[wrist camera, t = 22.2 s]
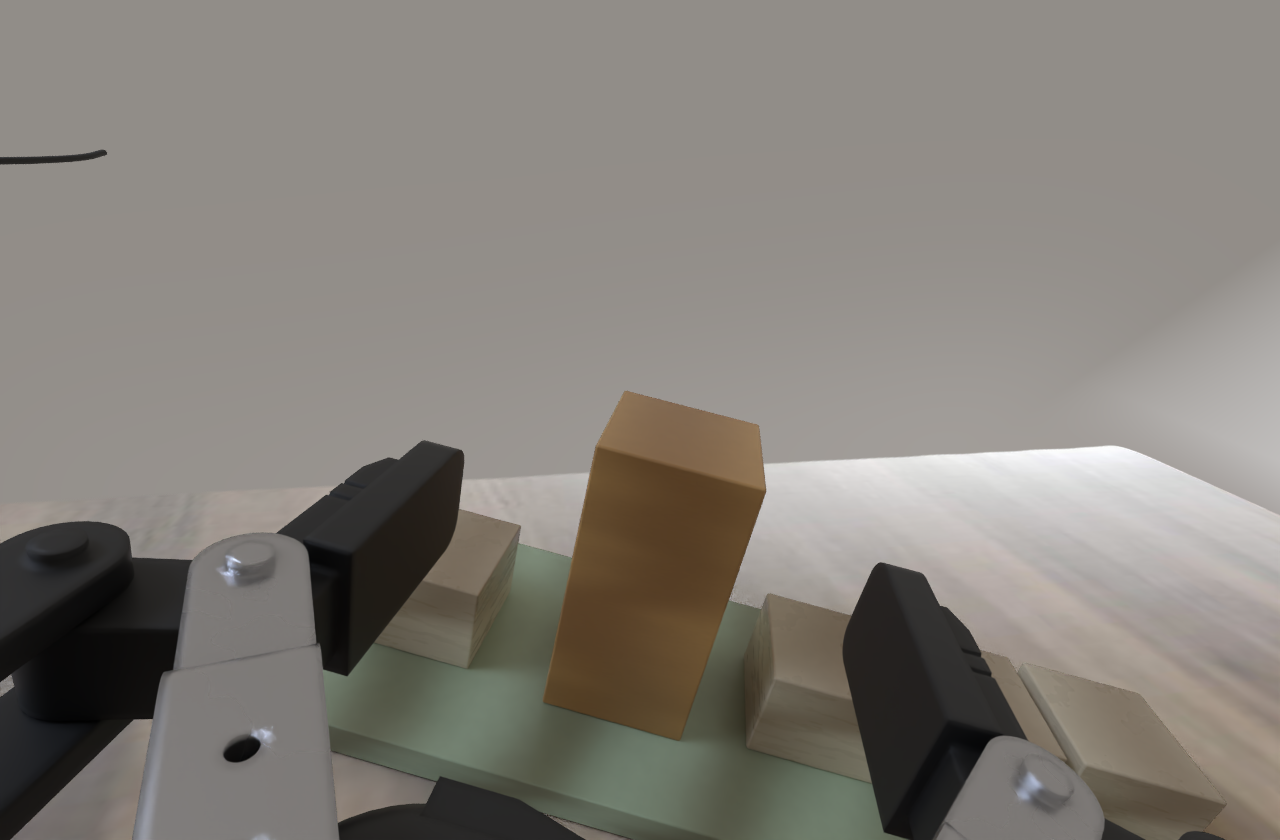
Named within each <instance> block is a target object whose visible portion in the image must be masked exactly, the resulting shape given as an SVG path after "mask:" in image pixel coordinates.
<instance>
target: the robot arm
mask: <svg viewBox="0 0 1280 840" xmlns="http://www.w3.org/2000/svg"><path fill="white" fill-rule="evenodd" d="M105 155H107V152H106V151H105V150H99V151H95V152H91V153H86V154H78V155H66V156H44V157H43V156H42V157H0V164H38V163H59V162H73V161H82V160H89V159H94V158H98V157H101V156H105ZM463 468H464V454H463V451H462V450H459V449H455V448H451V447H448V446H444V445H440V444H436V443H433V442H429V441H421V442H420V443H419V444H417V445H416V446H415V447H414V448H413V449H411V450H410V451H409V452H408V453H406V454H405V455H404V456H403V457H402V458H401V459H399V460H397V459H393V458H386V459H383V460H381V461H378V462H375V463H372V464H369V465H366V466H364V467H362V468H361V469H359V470H358V471H357V472H355V473H354V474H353V475H351V476H350V477H349V478H348V479H346V480H345V483H344V484H343V483H341V484H340V485H338V486H337V487H336V488H334V489H333V490H332V491H331V492H330V494H329V496H328V495H325V496H324V497H323V498H321V499H320V500H319V501H318V502H316V503H315V504H314V505H312V506H311V507H310V508H308V509H307V510H306V511H304V512H303V513H302V514H301V515H299V516H298V517H297V518H295V519H294V520H293V521H291V522H290V523H289V524H288V525H286V526H285V527H284V528H282V529H281V530H280V531H278V532H277V533H276V534H275V533H250V534H243V535H238V536H234V537H230V538H227V539H224V540H221V541H219V542H217V543H214V544H212V545H211V546H209V547H207V548H206V549H204V550H203V551H201V552H200V553H199V554H198V555H197V556H196V557H195V558H194V559H193V560H176V559H153V558H132V554H131V546H130V539H129V536H128V535H127V533H126V532H125V531H124V530H122V529H121V528H119V527H117V526H114V525H111V524H107V523H101V522H89V521H83V522H67V523H60V524H53V525H49V526H44V527H40V528H37V529H34V530H30V531H27V532H25V533H22V534H19V535H17V536H15V537H13V538H10V539H8V540H6V541H4V542H2V543H1V544H0V682H1V681H2V680H4V679H5V678H6V677H8V676H9V675H12V679H13V683H14V687H13V688H12V689H11V690H9V691H8V692H7V693H5V694H4V695H3V696H1V697H0V840H10V839H11V838H12V837H13V836H14V835H15V834H17V833H18V832H19V831H20V830H21V829H22V828H23V827H24V826H25V825H26V824H27V823H28V822H29V821H30V820H31V819H32V818H33V817H34V816H35V815H36V814H37V813H38V812H39V811H40V810H41V809H42V808H43V807H44V806H45V805H46V804H47V803H48V802H49V801H50V800H51V799H52V798H53V797H55V796H56V795H57V794H58V793H59V792H60V791H61V790H62V789H63V788H64V787H65V786H66V785H67V784H68V783H69V782H70V781H71V780H72V779H73V778H74V777H75V776H76V775H77V774H78V773H79V772H80V771H81V770H82V769H83V768H84V767H85V766H86V765H87V764H88V763H89V762H90V761H91V760H92V759H94V758H95V757H96V756H97V755H98V754H99V753H100V752H101V751H102V750H103V749H104V748H105V747H106V746H107V745H108V744H109V743H110V742H111V741H112V740H113V739H114V738H115V737H116V736H117V735H118V734H119V733H120V732H121V731H122V730H123V729H124V728H125V727H126V726H127V725H128V724H129V723H130V722H132V721H133V720H134V719H153V722H152V728H151V734H150V739H149V745H148V751H147V757H146V762H145V768H144V774H143V779H142V785H141V791H140V797H139V802H138V808H137V814H136V820H135V825H134V831H133V837H132V840H585V839H583V838H582V837H580V836H578V835H577V834H575V833H574V832H572V831H570V830H569V829H567V828H565V827H564V826H562V825H560V824H559V823H557V822H556V821H554V820H552V819H551V818H549V817H547V816H546V815H544V814H542V813H541V812H539V811H538V810H536V809H534V808H533V807H531V806H529V805H528V804H526V803H524V802H523V801H521V800H520V799H517V798H513V797H510V796H506V795H503V794H500V793H496V792H493V791H489V790H486V789H483V788H479V787H476V786H472V785H469V784H465V783H462V782H459V781H455V780H452V779H448V778H445V777H442V776H440V777H439V779H438V781H437V783H436V785H435V787H434V789H433V791H432V793H431V795H430V797H429V799H428V801H427V803H426V804H406V805H397V806H390V807H385V808H381V809H376V810H372V811H368V812H365V813H362V814H360V815H357V816H354V817H351V818H348V819H345V820H343V821H341V822H339V823H338V821H337V811H336V801H335V790H334V780H333V770H332V759H331V749H330V739H329V728H328V718H327V708H326V697H325V687H324V677H323V670H326V671H330V672H333V673H337V674H340V675H344V676H347V677H348V675H349V674H350V673H351V671H352V670H353V669H354V668H355V666H356V665H357V664H358V662H359V661H360V660H361V659H362V657H363V656H364V655H365V653H366V652H367V651H368V650H369V648H370V647H371V646H372V644H373V643H374V642H375V641H376V639H377V638H378V637H379V635H380V634H381V633H382V632H383V630H384V629H385V628H386V626H387V625H388V624H389V623H390V621H391V620H392V619H393V617H394V616H395V615H396V614H397V612H398V611H399V610H400V609H401V607H402V606H403V605H404V603H405V602H406V601H407V600H408V598H409V597H410V596H411V594H412V593H413V592H414V591H415V589H416V588H417V587H418V585H419V584H420V583H421V582H422V580H423V579H424V578H425V576H426V575H427V574H428V573H429V571H430V570H431V569H432V567H433V566H434V565H435V564H436V562H437V561H438V560H439V558H440V557H441V556H442V555H443V553H444V552H445V551H446V549H447V547H448V546H449V544H450V542H451V540H452V537H453V534H454V532H455V528H456V524H457V519H458V511H459V502H460V494H461V485H462V477H463ZM981 654H982V653H981V651H980V650H979V648H978V646H977V644H976V642H975V640H974V638H973V636H972V635H971V633H970V631H969V630H968V629H967V628H966V627H965V626H964V625H963V623H962V622H961V621H960V620H959V619H958V618H957V617H956V616H955V615H954V614H953V613H952V612H951V611H950V610H949V609H948V608H947V607H943V606H940V605H939V603H938V601H937V599H936V597H935V595H934V593H933V591H932V589H931V587H930V585H929V583H928V581H927V579H926V577H925V576H924V575H923V574H922V573H920V572H916V571H912V570H908V569H905V568H901V567H897V566H893V565H890V564H886V563H878V564H877V565H876V566H875V567H874V568H873V570H872V572H871V574H870V576H869V578H868V580H867V583H866V585H865V587H864V589H863V592H862V594H861V596H860V598H859V600H858V603H857V605H856V607H855V609H854V612H853V614H852V616H851V618H850V620H849V623H848V625H847V628H846V631H845V634H844V639H843V648H842V656H843V663H844V667H845V671H846V676H847V680H848V684H849V688H850V692H851V697H852V701H853V705H854V709H855V714H856V718H857V722H858V726H859V731H860V735H861V739H862V743H863V747H864V752H865V756H866V760H867V764H868V769H869V773H870V777H871V781H872V786H873V790H874V794H875V798H876V802H877V807H878V811H879V815H880V819H881V824H882V828H883V832H884V833H887V834H891V835H894V836H898V837H901V838H905V839H908V840H1145V839H1143V838H1142V837H1140V836H1138V835H1136V834H1134V833H1132V832H1130V831H1128V830H1126V829H1124V828H1122V827H1121V826H1119V825H1117V824H1115V823H1113V822H1111V821H1109V820H1107V819H1106V818H1104V814H1103V811H1102V808H1101V806H1100V804H1099V802H1098V800H1097V798H1096V797H1095V795H1094V794H1093V792H1092V791H1091V789H1090V788H1089V787H1088V786H1087V784H1086V783H1085V782H1084V781H1083V780H1082V779H1081V778H1080V777H1079V776H1078V775H1077V774H1076V773H1075V772H1074V771H1073V770H1072V769H1071V768H1070V767H1069V766H1068V765H1067V764H1065V763H1064V762H1063V761H1062V760H1060V759H1059V758H1057V757H1056V756H1055V755H1053V754H1052V753H1050V752H1049V751H1047V750H1045V749H1044V748H1042V747H1040V746H1038V745H1036V744H1034V743H1032V742H1029V741H1028V739H1027V737H1026V735H1025V734H1024V732H1023V730H1022V728H1021V726H1020V724H1019V722H1018V720H1017V719H1016V717H1015V715H1014V713H1013V711H1012V709H1011V707H1010V706H1009V704H1008V702H1007V700H1006V698H1005V696H1004V694H1003V692H1002V691H1001V689H1000V687H999V685H998V683H997V681H996V679H995V678H993V677H991V675H992V672H991V670H990V668H989V666H988V664H987V663H986V661H985V659H984V658H981ZM1178 840H1225V839H1223V838H1220V837H1218V836H1215V835H1213V834H1209V833H1205V832H1200V831H1190V832H1186V833H1185V834H1183V835H1182V836H1181V837H1180V838H1179V839H1178Z"/></svg>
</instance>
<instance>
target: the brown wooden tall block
mask: <svg viewBox="0 0 1280 840" xmlns="http://www.w3.org/2000/svg"><path fill="white" fill-rule="evenodd" d="M765 494H766V484H765V475H764V466H763V457H762V448H761V439H760V431H759V426H758V425H757V424H752V423H749V422H745V421H741V420H737V419H733V418H729V417H726V416H721V415H717V414H714V413H710V412H706V411H702V410H699V409H694V408H691V407H687V406H683V405H679V404H675V403H671V402H667V401H663V400H660V399H656V398H652V397H648V396H644V395H640V394H636V393H632V392H629V391H625V392H624V393H623V395H622V397H621V399H620V401H619V402H618V405H617V406H616V408H615V410H614V412H613V414H612V416H611V418H610V420H609V422H608V424H607V426H606V427H605V429H604V431H603V433H602V435H601V437H600V439H599V441H598V443H597V445H596V447H595V452H594V457H593V462H592V466H591V471H590V476H589V481H588V485H587V490H586V495H585V499H584V504H583V509H582V514H581V518H580V523H579V528H578V533H577V537H576V542H575V547H574V552H573V556H572V561H571V566H570V571H569V575H568V580H567V585H566V590H565V594H564V599H563V604H562V609H561V613H560V618H559V623H558V628H557V632H556V637H555V642H554V647H553V651H552V656H551V661H550V666H549V670H548V675H547V680H546V685H545V689H544V694H543V702H544V703H547V704H551V705H554V706H558V707H561V708H565V709H568V710H572V711H575V712H579V713H582V714H586V715H589V716H593V717H596V718H600V719H603V720H607V721H610V722H614V723H617V724H621V725H624V726H628V727H631V728H635V729H638V730H642V731H645V732H649V733H652V734H656V735H659V736H663V737H666V738H670V739H673V740H677V741H679V740H680V739H681V737H682V734H683V731H684V728H685V725H686V722H687V720H688V717H689V714H690V711H691V708H692V705H693V702H694V699H695V696H696V693H697V691H698V688H699V685H700V682H701V679H702V676H703V673H704V670H705V667H706V665H707V662H708V659H709V656H710V653H711V650H712V647H713V644H714V641H715V638H716V636H717V633H718V630H719V627H720V624H721V621H722V618H723V615H724V612H725V610H726V607H727V604H728V601H729V598H730V595H731V592H732V589H733V586H734V583H735V581H736V578H737V575H738V572H739V569H740V566H741V563H742V560H743V557H744V554H745V552H746V549H747V546H748V543H749V540H750V537H751V534H752V531H753V528H754V526H755V523H756V520H757V517H758V514H759V511H760V508H761V505H762V502H763V499H764V497H765Z"/></svg>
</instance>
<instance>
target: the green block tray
mask: <svg viewBox="0 0 1280 840" xmlns="http://www.w3.org/2000/svg"><path fill="white" fill-rule="evenodd" d="M520 530H521V526H520V525H516V524H512V523H509V522H505V521H501V520H498V519H494V518H490V517H487V516H483V515H479V514H476V513H472V512H468V511H464V510H461V509H459V511H458V519H457V524H456V528H455V532H454V534H453V537H452V540H451V542H450V544H449V546H448V547H447V549H446V551H445V552H444V553H443V555H442V556H441V557H440V558H439V560H438V561H437V562H436V564H435V565H434V566H433V567H432V569H431V570H430V571H429V573H428V574H427V575H426V576H425V578H424V579H423V580H422V582H421V583H420V584H419V585H418V587H417V588H416V589H415V591H414V592H413V593H412V594H411V596H410V597H409V598H408V600H407V601H406V602H405V603H404V605H403V606H402V607H401V609H400V610H399V611H398V612H397V614H396V615H395V616H394V617H393V619H392V620H391V621H390V623H389V624H388V625H387V626H386V628H385V629H384V630H383V632H382V633H381V634H380V635H379V637H378V638H377V639H376V641H375V642H374V643H373V644H372V646H371V647H370V648H369V650H368V651H367V652H366V653H365V655H364V656H363V657H362V659H361V660H360V661H359V662H358V664H357V665H356V666H355V668H354V669H353V670H352V671H351V673H350V674H349V675H348V677H347V676H344V675H340V674H337V673H333V672H330V671H326V670H323V677H324V687H325V697H326V708H327V718H328V728H329V739H330V749H331V750H332V751H335V752H338V753H342V754H345V755H349V756H352V757H355V758H359V759H362V760H366V761H369V762H372V763H376V764H379V765H382V766H386V767H389V768H393V769H396V770H399V771H403V772H406V773H410V774H413V775H416V776H420V777H423V778H427V779H430V780H433V781H438V779H439V777H440V776H442V777H445V778H448V779H452V780H455V781H459V782H462V783H465V784H469V785H472V786H476V787H479V788H483V789H486V790H489V791H493V792H496V793H500V794H503V795H506V796H510V797H513V798H517V799H520V800H521V801H523V802H524V803H526V804H528V805H529V806H531V807H533V808H534V809H536V810H538V811H539V812H542V813H545V814H549V815H552V816H556V817H559V818H562V819H566V820H569V821H573V822H576V823H579V824H583V825H586V826H590V827H593V828H596V829H600V830H603V831H607V832H610V833H613V834H617V835H620V836H624V837H627V838H630V839H634V840H908V839H905V838H901V837H898V836H894V835H891V834H887V833H884V832H883V828H882V824H881V819H880V815H879V811H878V807H877V802H876V798H875V794H874V790H873V786H872V781H871V777H870V773H869V769H868V764H867V760H866V756H865V752H864V747H863V743H862V739H861V735H860V731H859V726H858V722H857V718H856V714H855V709H854V705H853V701H852V697H851V692H850V688H849V684H848V680H847V676H846V671H845V667H844V663H843V656H842V648H843V639H844V634H845V631H846V628H847V625H848V623H849V620H850V618H851V615H847V614H843V613H840V612H836V611H832V610H829V609H825V608H821V607H818V606H814V605H810V604H807V603H803V602H799V601H795V600H792V599H788V598H784V597H781V596H777V595H773V594H770V593H768V594H767V595H766V598H765V601H764V603H763V606H762V609H758V608H754V607H750V606H747V605H743V604H739V603H736V602H732V601H728V604H727V607H726V610H725V612H724V615H723V618H722V621H721V624H720V627H719V630H718V633H717V636H716V638H715V641H714V644H713V647H712V650H711V653H710V656H709V659H708V662H707V665H706V667H705V670H704V673H703V676H702V679H701V682H700V685H699V688H698V691H697V693H696V696H695V699H694V702H693V705H692V708H691V711H690V714H689V717H688V720H687V722H686V725H685V728H684V731H683V734H682V737H681V739H680V740H679V741H677V740H673V739H670V738H666V737H663V736H659V735H656V734H652V733H649V732H645V731H642V730H638V729H635V728H631V727H628V726H624V725H621V724H617V723H614V722H610V721H607V720H603V719H600V718H596V717H593V716H589V715H586V714H582V713H579V712H575V711H572V710H568V709H565V708H561V707H558V706H554V705H551V704H547V703H544V702H543V694H544V689H545V685H546V680H547V675H548V670H549V666H550V661H551V656H552V651H553V647H554V642H555V637H556V632H557V628H558V623H559V618H560V613H561V609H562V604H563V599H564V594H565V590H566V585H567V580H568V575H569V571H570V566H571V561H572V558H571V557H567V556H563V555H560V554H556V553H552V552H549V551H545V550H541V549H538V548H534V547H530V546H527V545H523V544H519V543H518V542H519V536H520ZM980 651H981V653H982V654H981V658H984V659H985V661H986V663H987V664H988V666H989V668H990V670H991V672H992V675H991V677H993V678H995V679H996V681H997V683H998V685H999V687H1000V689H1001V691H1002V692H1003V694H1004V696H1005V698H1006V700H1007V702H1008V704H1009V706H1010V707H1011V709H1012V711H1013V713H1014V715H1015V717H1016V719H1017V720H1018V722H1019V724H1020V726H1021V728H1022V730H1023V732H1024V734H1025V735H1026V737H1027V739H1028V741H1029V742H1032V743H1034V744H1036V745H1038V746H1040V747H1042V748H1044V749H1045V750H1047V751H1049V752H1050V753H1052V754H1053V755H1055V756H1056V757H1057V758H1059V759H1060V760H1062V761H1063V762H1064V763H1065V764H1067V765H1068V766H1069V767H1070V768H1071V769H1072V770H1073V771H1074V772H1075V773H1076V774H1077V775H1078V776H1079V777H1080V778H1081V779H1082V780H1083V781H1084V782H1085V783H1086V784H1087V786H1088V787H1089V788H1090V789H1091V791H1092V792H1093V794H1094V795H1095V797H1096V798H1097V800H1098V802H1099V804H1100V806H1101V808H1102V811H1103V814H1104V818H1106V819H1107V820H1109V821H1111V822H1113V823H1115V824H1117V825H1119V826H1121V827H1122V828H1124V829H1126V830H1128V831H1130V832H1132V833H1134V834H1136V835H1138V836H1140V837H1142V838H1143V839H1145V840H1178V839H1179V838H1180V837H1181V836H1182V835H1183V834H1185V833H1186V832H1190V831H1200V832H1203V830H1204V829H1205V828H1206V827H1207V826H1208V825H1209V824H1210V823H1211V822H1212V820H1213V819H1214V818H1215V817H1216V816H1217V815H1218V814H1219V813H1220V812H1221V810H1222V809H1223V808H1224V807H1225V806H1226V804H1227V803H1226V801H1225V800H1224V799H1223V798H1222V796H1221V795H1220V794H1219V793H1218V791H1217V790H1216V789H1215V788H1214V786H1213V785H1212V784H1211V783H1210V781H1209V780H1208V779H1207V778H1206V776H1205V775H1204V774H1203V773H1202V771H1201V770H1200V769H1199V768H1198V766H1197V765H1196V764H1195V763H1194V761H1193V760H1192V759H1191V758H1190V756H1189V755H1188V754H1187V753H1186V751H1185V750H1184V749H1183V748H1182V746H1181V745H1180V744H1179V743H1178V741H1177V740H1176V739H1175V738H1174V736H1173V735H1172V734H1171V733H1170V731H1169V730H1168V729H1167V728H1166V726H1165V725H1164V724H1163V723H1162V721H1161V720H1160V719H1159V718H1158V716H1157V715H1156V714H1155V713H1154V711H1153V710H1152V709H1151V708H1150V706H1149V705H1148V704H1147V703H1146V701H1145V700H1144V699H1143V698H1142V696H1141V695H1140V694H1138V693H1135V692H1131V691H1128V690H1124V689H1120V688H1116V687H1113V686H1109V685H1105V684H1102V683H1098V682H1094V681H1091V680H1087V679H1083V678H1080V677H1076V676H1072V675H1068V674H1065V673H1061V672H1057V671H1054V670H1050V669H1046V668H1043V667H1039V666H1035V665H1032V664H1028V663H1023V664H1022V666H1021V667H1020V669H1019V671H1018V672H1016V671H1015V669H1014V667H1013V665H1012V664H1011V662H1010V660H1009V659H1008V658H1007V657H1004V656H1000V655H996V654H993V653H989V652H985V651H982V650H980Z"/></svg>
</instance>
